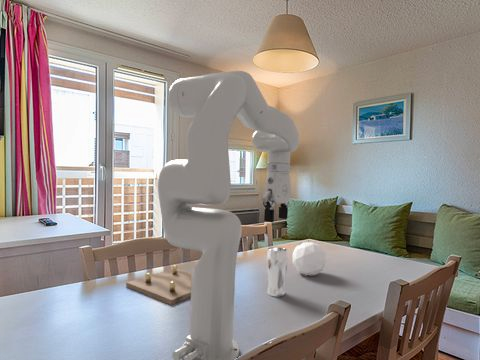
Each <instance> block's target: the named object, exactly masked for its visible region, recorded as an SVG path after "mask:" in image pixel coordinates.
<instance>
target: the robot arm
mask: <svg viewBox="0 0 480 360" xmlns="http://www.w3.org/2000/svg"><path fill="white" fill-rule="evenodd" d="M168 104H169V105H170V108H171V110H172V112H173V113H175V114H176V115H177V116H179V117H181V118H188V119H190V118H193V119H192V120H191V123H189V126H188V129H187V130H186V131H187V132H186V137H185V145H186V159H174V160H170V161H168V162H167V163H165V164H164V166H163V167H162V168H161V171H160V172H159V175H158V182H157V192H158V200H159V206H160V213H161V221H162V227H163V232H164V236H165V239H166V240H167V242H168V243H169V244H170V245H171V246H174V247H176V248H180V249H185V250H193V251H196V252H200V253H202V254H201V256H200V258H199V259H198V260H197V262H196V263H195V265H194V266H193V269H192V271H191V273H192V277H191V297H190V311H189V313H190V314H189V335H186V336H185V342H183V344H182V346H181V347H179V348H178V349H176V350H174V351H172V358H173V360H182V359H183V360H234V359H235V358H237V357H238V358H239V355H240V346H239V343H238V342H237V341H236V340H235V339H234V338H233V336H234V319H235V318H234V316H235V315H234V312H235V293H236V292H235V291H236V289H235V287H236V269H237V268H236V267H237V257H238V252H239V248H240V243H241V239H242V231H243V229H242V228H243V226H242V222H241V220H240V218H239V217H238V216H237V215H236V214H235V213H233V212H232V211H229V210H226V209H220V208H213V207H211V208H210V207H197V206H192V205H201V206H203V205H204V206H218V205H223V204H224V203H226V202H227V201H228V200H229V198H230V195H231V191H232V185H231V184H232V183H231V181H232V180H231V167H230V166H231V165H230V153H229V152H230V151H229V134H230V131H231V127H232V124H233V122H234V121H235V119H236V117H237V118H238V119H239V121H240V122H241V124H242V125H243V126H244V127H245V128H247V129H249V130H253V131H254V133H253V134H252V138H251V142H252V145H253V147H254V149H255V150H257V151H258V152H260V153H267V162H266V179H265V188H264V189H265V190H264V194H263V195H262V197H261V198H262V204H263V209H264V214H263V215H264V217H263V220H264V222H267V223H274V222H275V218H274V217H275V209H274V207H275V205H276V204H277V205H278V204H279V207H278V219H282V220H287V219H288V217H289V215H288V213H289V212H288V211H289V203H290V201H291V176H290V175H291V174H290V171H291V170H290V169H291V153H293V152H295V151H297V149H298V147H299V146H300V134H299V130H298V128H297V125H296V124H295V121H294V120H293V118H291V116H290V115H288V114H286V113H285V112H283V111H281V110H279V109H277V108H275V107H274V106H271V105H270V104H268V102H267V100H266V99H265V97H264V95H263V94H262V92H261V90H260V88H259V86H258V84H257V82H256V81H255V79H254V77H253V76H252V75H251V74H250V73H249V72H247V71H244V70H230V71H223V72H213V73H208V74H207V73H206V74H202V75H198V76H192V77H185V78H179V79H177V80H175V81H174V82H173V83H172V85H170V88H169V91H168ZM238 358H237V359H238Z"/></svg>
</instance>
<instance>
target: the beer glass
mask: <svg viewBox="0 0 480 360" xmlns="http://www.w3.org/2000/svg"><path fill="white" fill-rule="evenodd" d="M288 260H289V259H288V249H287V248H285V247H282V246H268V247H267V253H266V273H267V282H268V283H267V288H266V294H267V295H268V296H271V297H274V298H276V297H278V298H280V296H281V297H284V296H285V294H286V293H285V291H286V290H285V278H286V274H287V271H288V262H289V261H288ZM283 295H284V296H283Z"/></svg>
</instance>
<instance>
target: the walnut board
mask: <svg viewBox="0 0 480 360" xmlns="http://www.w3.org/2000/svg"><path fill="white" fill-rule="evenodd" d="M191 277H192V271H191V272H190V271H187V270H184V269H182V268H181V269H180V268H178V265H177V264H173V265H172V268H171V269H167V270H163V271H160V272H157V273H154V274H152V272H146V273H145V276H143V277H140V278H137V279H134V280H130V281H126V284H125V285H126V286H125V287H126V288H128V289H130V290H133V291H135V292H137V293H140V294H143V295H145V296H148V297H150V298H152V299H155V300H158V301H159V302H161V303H165V304H167V305H169V306H172V305H174V304H177V303H180V302H182V301H184V300H186V299H190V298H191Z"/></svg>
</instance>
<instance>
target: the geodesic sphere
mask: <svg viewBox="0 0 480 360" xmlns="http://www.w3.org/2000/svg"><path fill="white" fill-rule="evenodd" d="M291 256H292V265H293V266H294V267H295V269H296V270H297V272H299V273H300V274H302V275H304V274H305V275H304V276H306V275H309V276H316V275H318V274H319V273H321V272H323V271H324V268H325V266H326V263H327V261H326V252H325V250H324V249H323V248H322V246H321V245H320V244H318V243H316V242H314V241H311V240H307V242H305V241H298V242H297V245H296V246H295V248H294V250H293V253H292V255H291Z"/></svg>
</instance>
